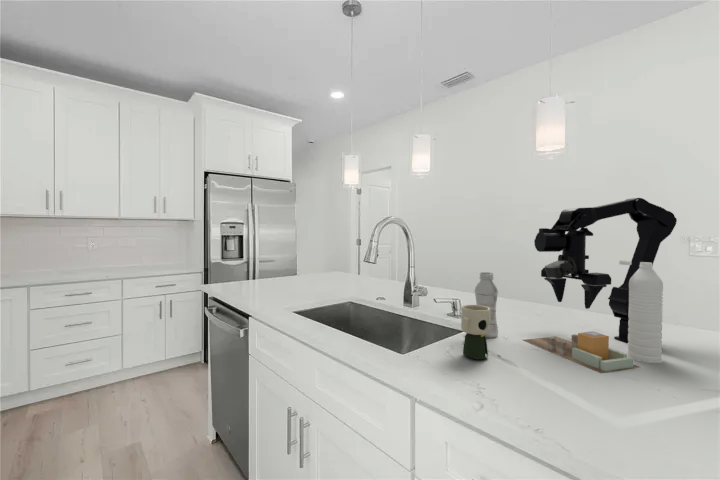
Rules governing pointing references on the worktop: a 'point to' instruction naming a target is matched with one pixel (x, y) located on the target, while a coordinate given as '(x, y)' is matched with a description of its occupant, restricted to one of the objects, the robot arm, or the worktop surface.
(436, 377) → the worktop surface
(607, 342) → the orange upright block
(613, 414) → the worktop surface
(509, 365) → the worktop surface
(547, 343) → the board
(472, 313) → the character mug
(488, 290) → the plastic bottle
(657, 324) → the water bottle
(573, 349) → the bracket
